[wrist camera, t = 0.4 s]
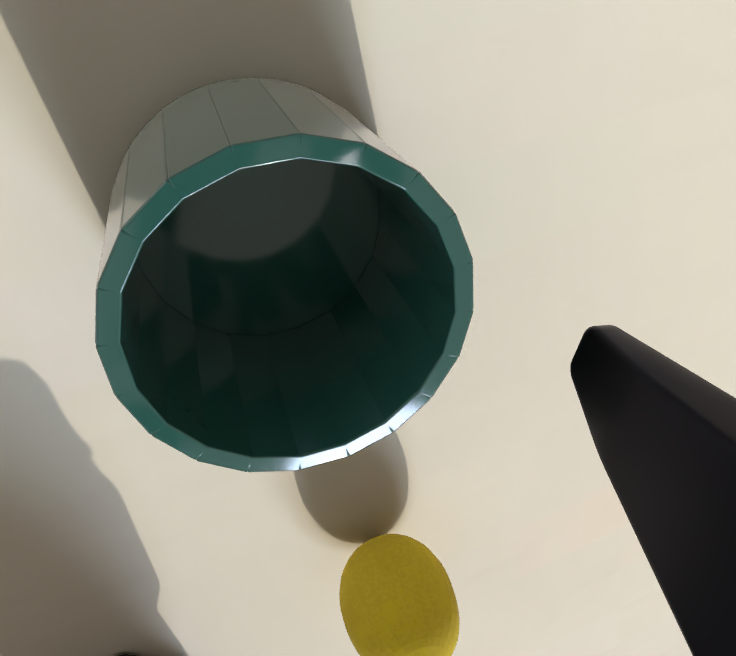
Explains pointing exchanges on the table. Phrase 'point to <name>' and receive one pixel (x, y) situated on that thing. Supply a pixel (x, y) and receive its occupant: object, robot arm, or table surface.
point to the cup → (275, 280)
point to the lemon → (398, 600)
